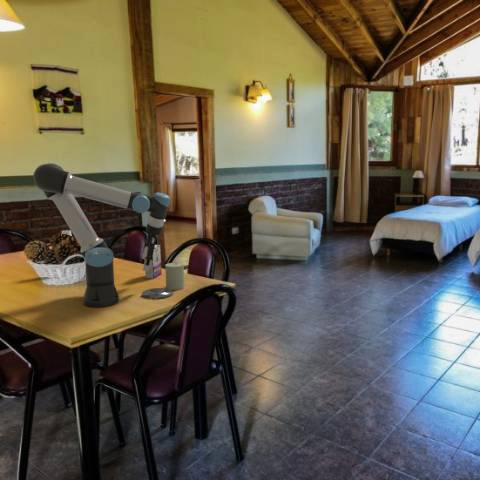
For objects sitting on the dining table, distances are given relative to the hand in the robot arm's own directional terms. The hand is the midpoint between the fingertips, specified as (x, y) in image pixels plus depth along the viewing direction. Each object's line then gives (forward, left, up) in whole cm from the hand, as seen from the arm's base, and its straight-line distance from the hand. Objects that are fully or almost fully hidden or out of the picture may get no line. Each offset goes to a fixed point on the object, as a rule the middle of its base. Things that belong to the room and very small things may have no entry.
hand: (145, 264), depth 229 cm
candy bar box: (+14, +17, -12) cm, 25 cm away
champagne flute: (-18, +53, -12) cm, 57 cm away
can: (+10, -10, -12) cm, 19 cm away
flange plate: (-3, -15, -11) cm, 19 cm away
